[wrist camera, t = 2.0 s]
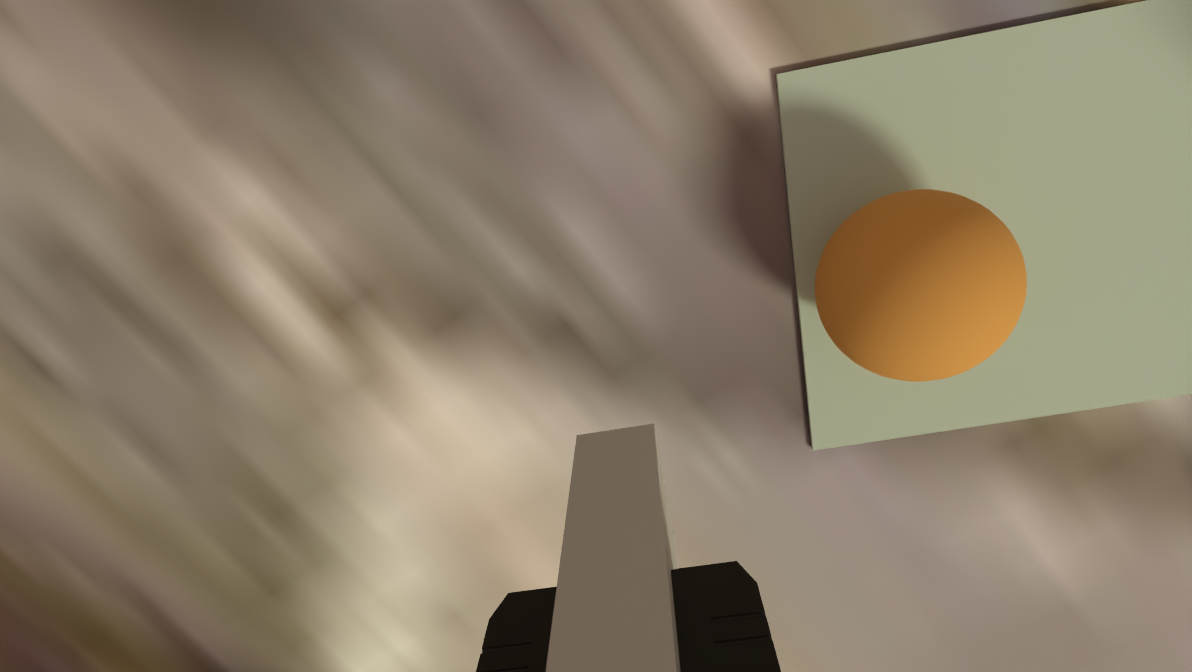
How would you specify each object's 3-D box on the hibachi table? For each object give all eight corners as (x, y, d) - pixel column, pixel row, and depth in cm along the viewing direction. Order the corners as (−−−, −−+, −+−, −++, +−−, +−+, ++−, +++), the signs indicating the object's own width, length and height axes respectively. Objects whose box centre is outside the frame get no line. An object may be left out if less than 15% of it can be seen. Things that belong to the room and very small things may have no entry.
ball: (802, 354, 26) (855, 429, 20) (787, 195, 24) (840, 228, 18) (967, 328, 25) (1069, 396, 19) (966, 163, 23) (1078, 186, 17)
